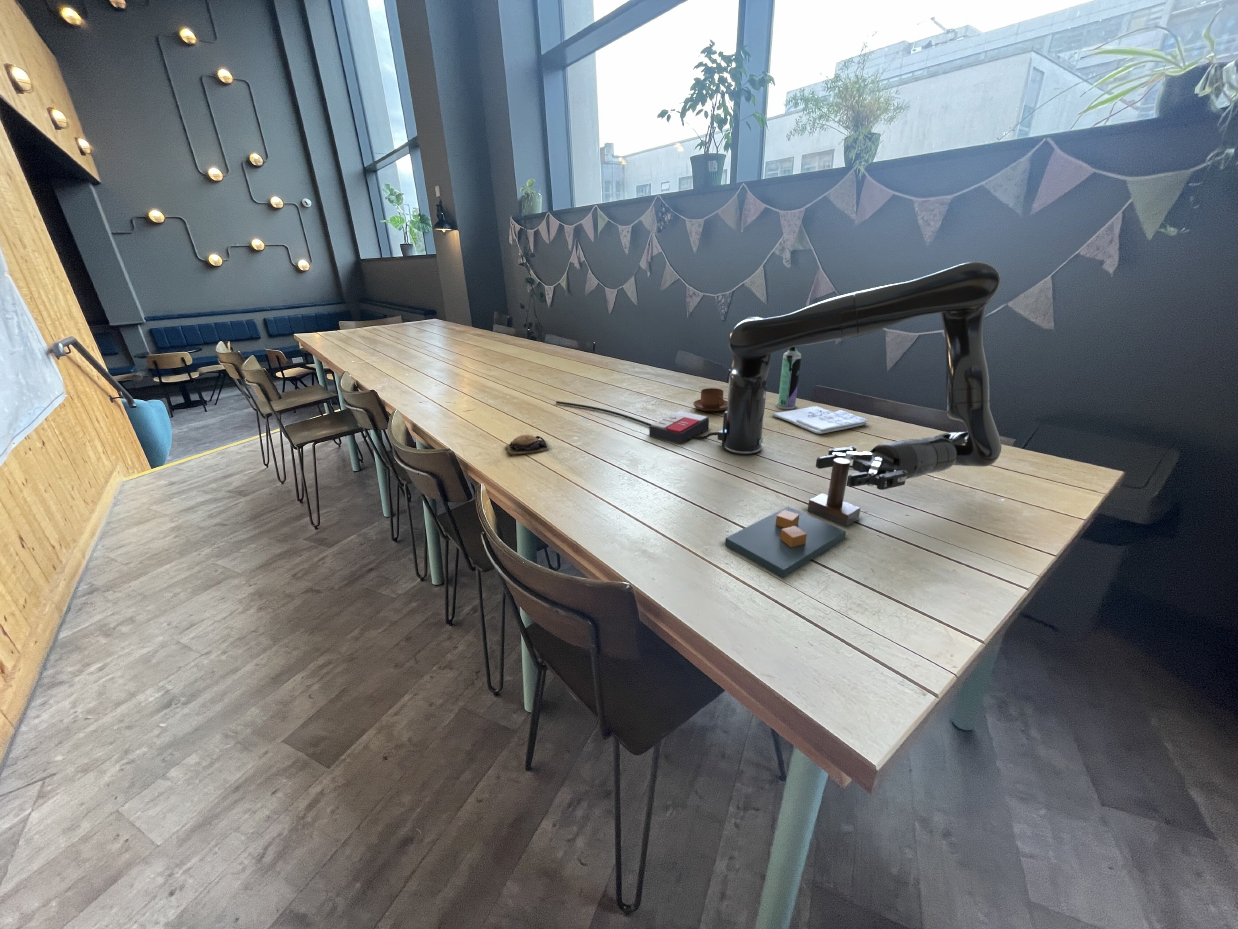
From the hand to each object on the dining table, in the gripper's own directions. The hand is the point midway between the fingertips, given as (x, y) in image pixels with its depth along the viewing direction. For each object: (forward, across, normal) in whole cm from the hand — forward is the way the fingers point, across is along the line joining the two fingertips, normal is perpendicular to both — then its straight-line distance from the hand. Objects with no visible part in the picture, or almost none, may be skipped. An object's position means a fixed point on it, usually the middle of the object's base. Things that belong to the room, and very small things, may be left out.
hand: (832, 471), depth 87 cm
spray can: (-36, -64, +10) cm, 74 cm away
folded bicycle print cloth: (-36, -49, +10) cm, 61 cm away
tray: (+12, +5, +10) cm, 16 cm away
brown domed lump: (+51, -58, +10) cm, 77 cm away
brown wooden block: (+10, +2, +8) cm, 13 cm away
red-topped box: (+7, -54, +10) cm, 55 cm away
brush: (-2, 0, +10) cm, 10 cm away
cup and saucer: (-12, -72, +10) cm, 73 cm away
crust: (+13, +7, +8) cm, 17 cm away
